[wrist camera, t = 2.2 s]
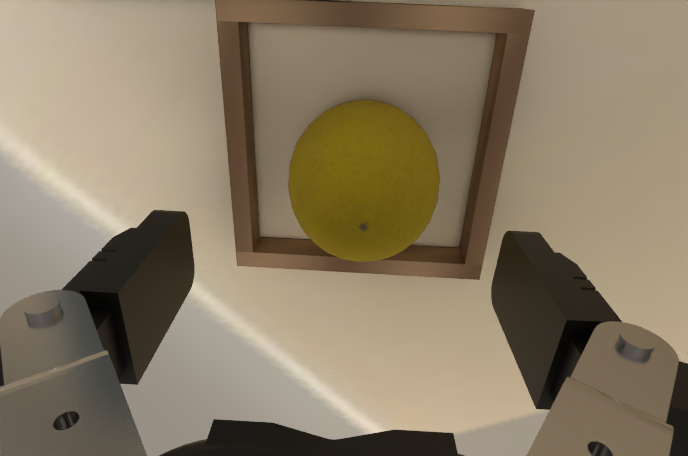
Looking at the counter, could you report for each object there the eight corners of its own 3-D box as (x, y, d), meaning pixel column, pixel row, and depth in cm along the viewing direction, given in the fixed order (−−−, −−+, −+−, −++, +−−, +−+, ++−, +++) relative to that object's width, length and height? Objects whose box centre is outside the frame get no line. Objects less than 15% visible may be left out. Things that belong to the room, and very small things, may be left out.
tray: (522, 8, 18) (534, 10, 17) (472, 263, 23) (479, 279, 22) (225, -4, 18) (214, -4, 17) (244, 250, 24) (237, 265, 22)
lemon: (390, 219, 22) (400, 326, 15) (285, 172, 22) (243, 262, 14) (450, 117, 20) (494, 187, 13) (334, 59, 19) (313, 101, 12)
